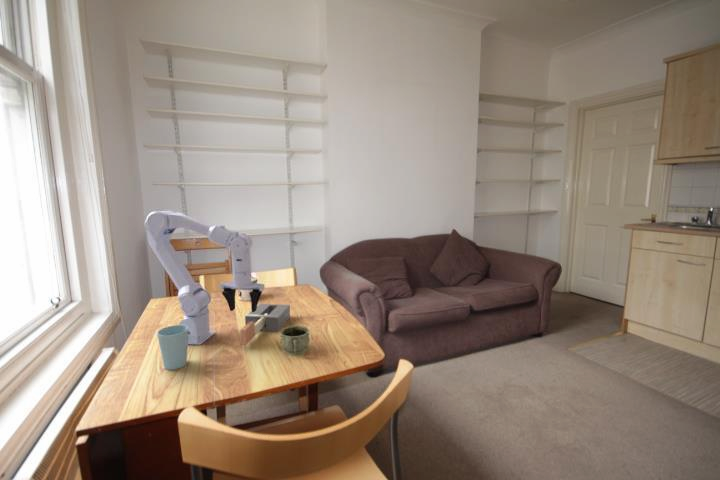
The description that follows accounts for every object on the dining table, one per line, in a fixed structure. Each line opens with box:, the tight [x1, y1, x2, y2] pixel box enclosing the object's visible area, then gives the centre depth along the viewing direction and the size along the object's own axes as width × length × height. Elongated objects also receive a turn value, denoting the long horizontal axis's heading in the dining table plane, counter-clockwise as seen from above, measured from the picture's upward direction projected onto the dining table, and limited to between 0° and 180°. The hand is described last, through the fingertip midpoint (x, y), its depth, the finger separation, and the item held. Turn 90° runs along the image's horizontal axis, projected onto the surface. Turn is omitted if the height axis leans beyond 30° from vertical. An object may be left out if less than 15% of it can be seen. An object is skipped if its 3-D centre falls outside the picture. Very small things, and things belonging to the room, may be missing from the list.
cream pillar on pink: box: [239, 313, 268, 346], centre depth 113 cm, size 20×2×5 cm, turn 175°
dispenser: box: [244, 303, 291, 332], centre depth 124 cm, size 14×12×6 cm
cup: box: [156, 324, 189, 371], centre depth 93 cm, size 8×8×10 cm
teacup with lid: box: [237, 275, 258, 302], centre depth 153 cm, size 12×9×12 cm
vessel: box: [280, 325, 310, 356], centre depth 104 cm, size 12×9×6 cm
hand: (243, 310), depth 112 cm, fingers open, 7 cm apart
